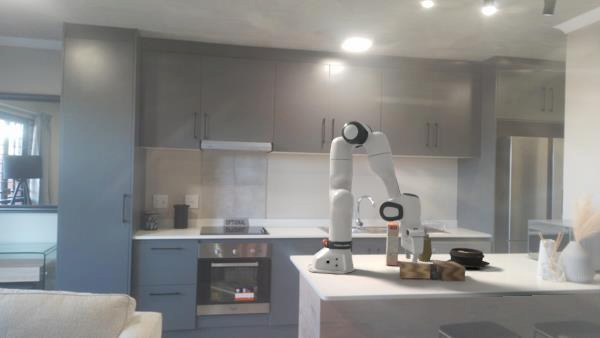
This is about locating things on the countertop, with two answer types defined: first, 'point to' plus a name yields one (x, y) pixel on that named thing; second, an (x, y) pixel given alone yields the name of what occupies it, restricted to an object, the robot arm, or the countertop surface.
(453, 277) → the stool seat
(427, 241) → the squeeze bottle
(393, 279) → the countertop surface
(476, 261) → the casserole
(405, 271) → the stool leg
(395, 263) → the cracker box
